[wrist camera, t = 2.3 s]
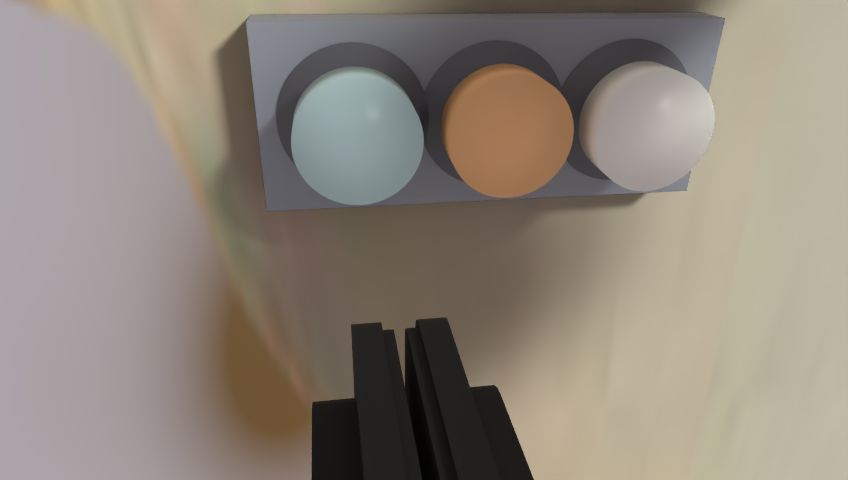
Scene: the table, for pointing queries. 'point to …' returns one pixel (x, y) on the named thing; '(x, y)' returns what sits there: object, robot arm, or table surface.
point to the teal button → (356, 136)
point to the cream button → (646, 125)
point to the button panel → (459, 80)
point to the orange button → (506, 130)
